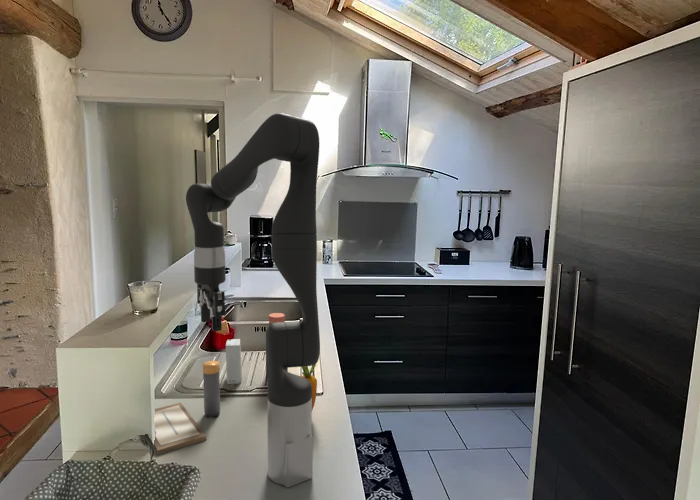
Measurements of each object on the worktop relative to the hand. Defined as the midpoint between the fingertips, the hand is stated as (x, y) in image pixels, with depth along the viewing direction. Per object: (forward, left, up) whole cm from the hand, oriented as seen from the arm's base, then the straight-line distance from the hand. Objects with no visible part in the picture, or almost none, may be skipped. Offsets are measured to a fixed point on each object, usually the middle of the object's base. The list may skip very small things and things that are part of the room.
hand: (211, 326), depth 123 cm
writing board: (-1, +11, -24) cm, 27 cm away
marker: (0, 0, -24) cm, 24 cm away
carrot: (-15, -20, -24) cm, 35 cm away
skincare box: (+17, -13, -24) cm, 32 cm away
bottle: (+12, -25, -24) cm, 37 cm away
